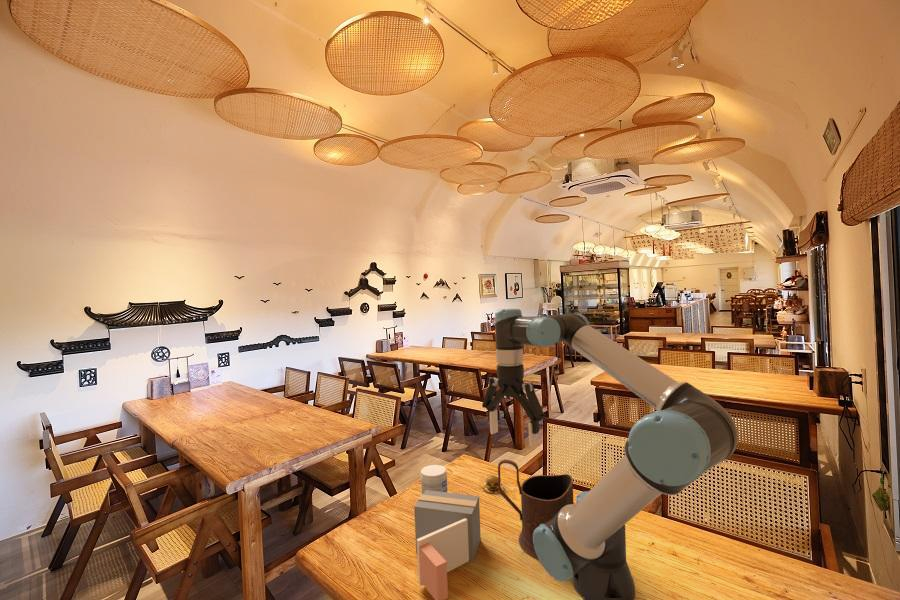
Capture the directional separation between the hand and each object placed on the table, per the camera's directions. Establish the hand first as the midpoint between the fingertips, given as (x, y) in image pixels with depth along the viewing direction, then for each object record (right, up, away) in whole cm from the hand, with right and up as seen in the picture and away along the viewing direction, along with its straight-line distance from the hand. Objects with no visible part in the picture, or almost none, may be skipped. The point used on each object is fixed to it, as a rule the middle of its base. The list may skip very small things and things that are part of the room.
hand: (512, 438), depth 105 cm
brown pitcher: (+10, -37, +11) cm, 40 cm away
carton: (-18, -37, +11) cm, 43 cm away
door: (-17, -36, -5) cm, 40 cm away
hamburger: (0, -37, +45) cm, 58 cm away
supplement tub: (-23, -38, +31) cm, 54 cm away
